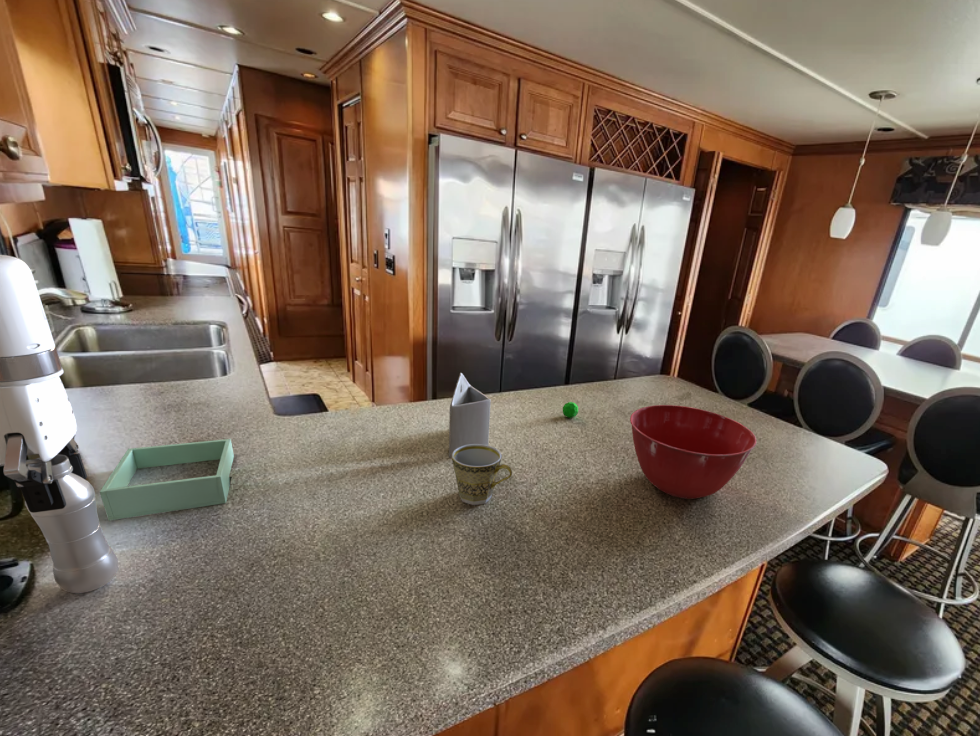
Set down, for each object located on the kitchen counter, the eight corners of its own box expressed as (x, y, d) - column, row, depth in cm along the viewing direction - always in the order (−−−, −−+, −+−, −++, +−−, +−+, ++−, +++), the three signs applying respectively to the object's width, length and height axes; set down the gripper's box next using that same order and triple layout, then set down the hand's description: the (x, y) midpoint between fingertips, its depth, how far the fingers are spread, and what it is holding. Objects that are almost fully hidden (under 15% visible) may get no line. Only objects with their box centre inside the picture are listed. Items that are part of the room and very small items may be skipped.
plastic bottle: (69, 607, 62) (18, 480, 54) (52, 584, 65) (2, 461, 58) (130, 580, 67) (91, 461, 60) (112, 560, 70) (73, 444, 63)
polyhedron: (562, 413, 146) (564, 399, 144) (578, 415, 146) (579, 401, 144) (560, 418, 142) (562, 404, 140) (576, 421, 141) (578, 406, 139)
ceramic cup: (441, 501, 94) (442, 458, 90) (466, 479, 103) (468, 439, 99) (498, 519, 90) (501, 475, 86) (519, 495, 99) (522, 454, 95)
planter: (480, 462, 111) (483, 387, 104) (448, 458, 111) (449, 382, 104) (495, 435, 126) (498, 367, 119) (466, 431, 126) (468, 363, 119)
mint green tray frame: (108, 520, 78) (99, 491, 76) (135, 474, 92) (128, 448, 90) (226, 503, 86) (220, 476, 84) (235, 462, 100) (230, 438, 97)
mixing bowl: (597, 477, 110) (606, 419, 104) (659, 446, 130) (669, 396, 124) (705, 535, 93) (723, 468, 87) (757, 489, 113) (775, 432, 107)
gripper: (5, 346, 59) (49, 468, 66) (-84, 391, 45) (-17, 540, 52) (84, 345, 63) (118, 460, 69) (24, 387, 49) (74, 526, 55)
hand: (60, 493), depth 61 cm, fingers closed on plastic bottle, 6 cm apart
